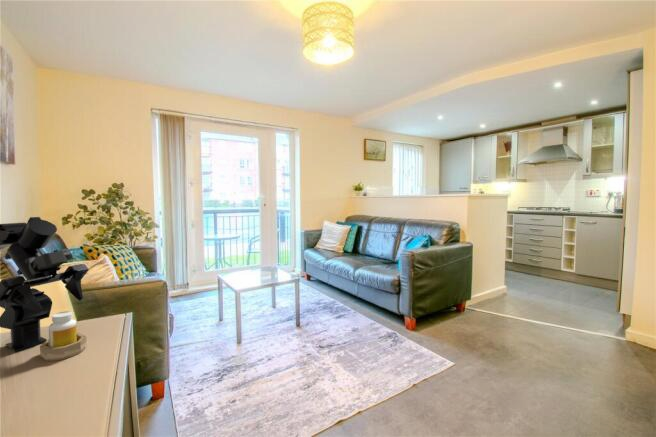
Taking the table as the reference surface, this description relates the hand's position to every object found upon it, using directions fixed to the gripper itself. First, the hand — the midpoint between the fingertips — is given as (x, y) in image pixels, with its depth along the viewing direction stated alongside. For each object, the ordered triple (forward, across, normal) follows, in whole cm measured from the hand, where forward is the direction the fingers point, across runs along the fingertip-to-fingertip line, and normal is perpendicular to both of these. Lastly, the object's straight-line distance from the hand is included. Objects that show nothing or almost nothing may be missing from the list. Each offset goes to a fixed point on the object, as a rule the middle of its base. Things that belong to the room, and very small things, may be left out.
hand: (62, 305), depth 77 cm
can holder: (+9, 0, +9) cm, 13 cm away
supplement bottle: (+8, 0, +9) cm, 12 cm away
